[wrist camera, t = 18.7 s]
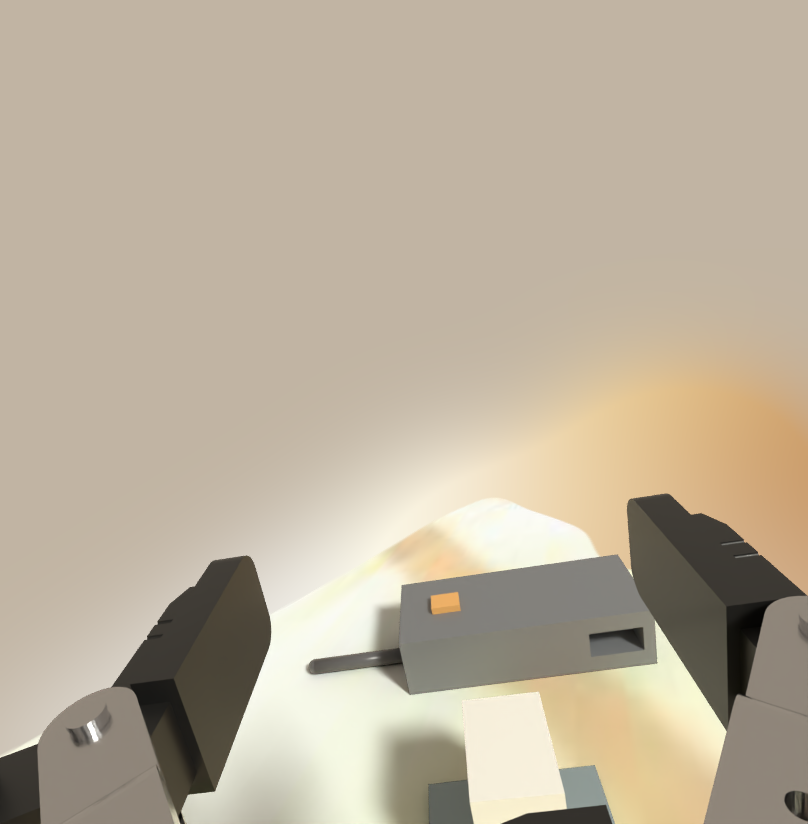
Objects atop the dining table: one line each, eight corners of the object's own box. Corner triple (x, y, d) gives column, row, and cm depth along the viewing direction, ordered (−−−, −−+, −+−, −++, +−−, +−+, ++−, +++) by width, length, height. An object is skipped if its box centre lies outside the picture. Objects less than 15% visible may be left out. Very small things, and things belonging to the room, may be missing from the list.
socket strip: (301, 708, 45) (285, 653, 44) (318, 642, 53) (305, 593, 51) (657, 663, 43) (653, 603, 42) (621, 601, 51) (616, 548, 49)
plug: (495, 933, 28) (469, 802, 25) (478, 771, 36) (458, 662, 34) (581, 926, 27) (564, 793, 25) (544, 764, 36) (529, 653, 34)
